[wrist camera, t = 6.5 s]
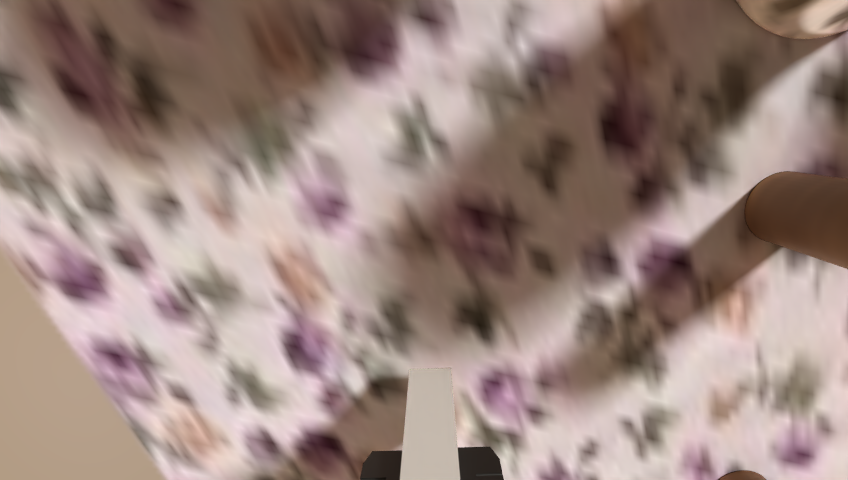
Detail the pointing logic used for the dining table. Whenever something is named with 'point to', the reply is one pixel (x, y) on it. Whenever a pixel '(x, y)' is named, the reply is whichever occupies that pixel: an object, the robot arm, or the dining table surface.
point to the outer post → (743, 476)
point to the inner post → (802, 214)
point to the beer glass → (798, 17)
